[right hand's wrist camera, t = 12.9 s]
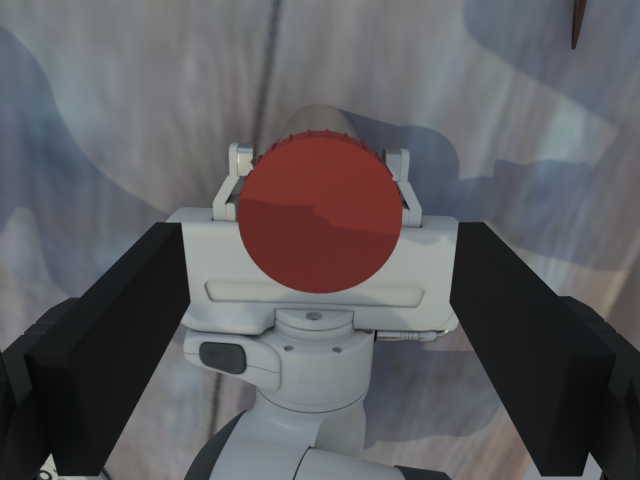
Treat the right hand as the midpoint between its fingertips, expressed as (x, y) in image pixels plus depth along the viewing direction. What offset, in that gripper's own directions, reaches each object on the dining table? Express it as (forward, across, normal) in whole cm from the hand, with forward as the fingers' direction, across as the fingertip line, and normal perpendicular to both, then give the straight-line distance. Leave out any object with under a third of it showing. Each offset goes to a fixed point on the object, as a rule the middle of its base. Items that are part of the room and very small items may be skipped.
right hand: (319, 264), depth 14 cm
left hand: (+15, 0, -1) cm, 15 cm away
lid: (+4, 0, 0) cm, 4 cm away
